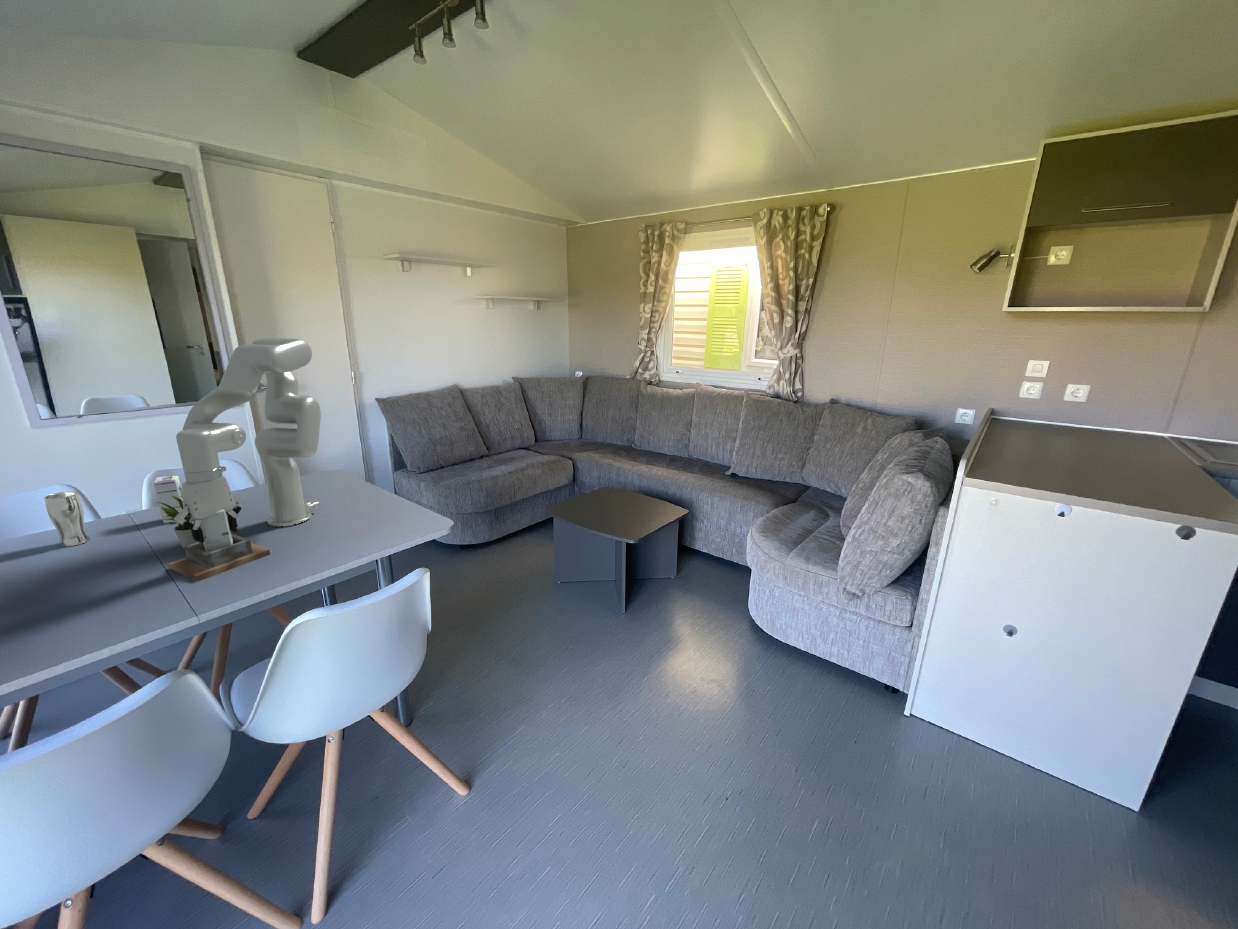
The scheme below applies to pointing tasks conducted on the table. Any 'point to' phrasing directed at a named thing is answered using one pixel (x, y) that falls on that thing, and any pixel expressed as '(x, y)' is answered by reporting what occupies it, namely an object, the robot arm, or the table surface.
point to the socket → (217, 558)
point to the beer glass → (67, 517)
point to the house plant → (180, 530)
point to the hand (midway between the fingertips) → (216, 535)
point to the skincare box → (216, 531)
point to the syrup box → (168, 493)
